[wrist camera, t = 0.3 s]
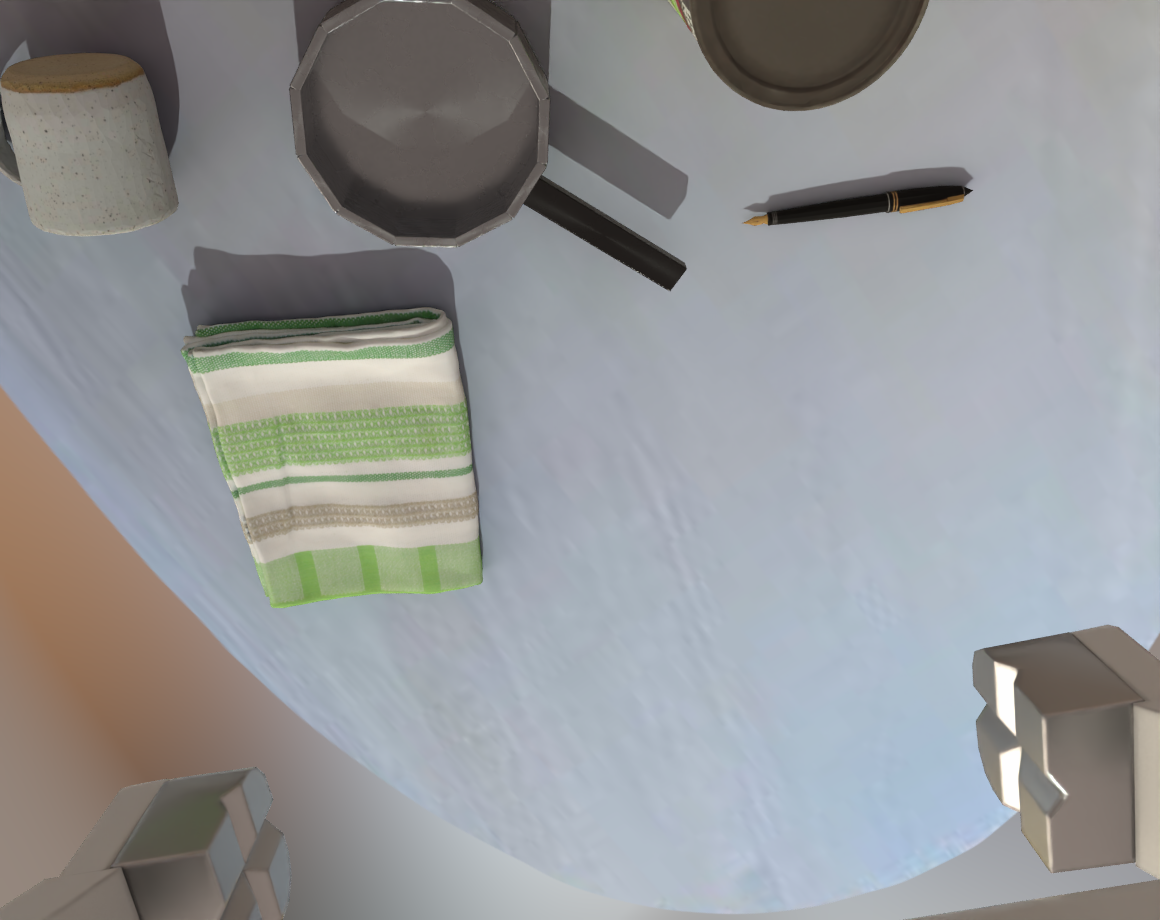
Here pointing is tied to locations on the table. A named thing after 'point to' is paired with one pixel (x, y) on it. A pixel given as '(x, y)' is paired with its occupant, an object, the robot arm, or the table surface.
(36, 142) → the ceramic mug
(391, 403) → the dish towel
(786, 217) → the fountain pen
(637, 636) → the table surface
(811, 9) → the coffee can
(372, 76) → the steel pan
